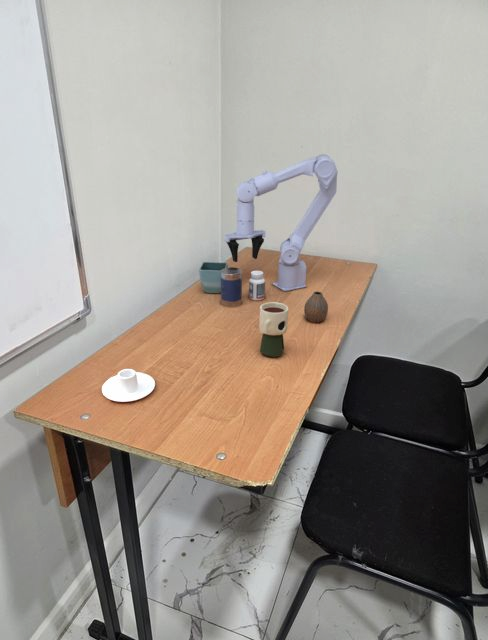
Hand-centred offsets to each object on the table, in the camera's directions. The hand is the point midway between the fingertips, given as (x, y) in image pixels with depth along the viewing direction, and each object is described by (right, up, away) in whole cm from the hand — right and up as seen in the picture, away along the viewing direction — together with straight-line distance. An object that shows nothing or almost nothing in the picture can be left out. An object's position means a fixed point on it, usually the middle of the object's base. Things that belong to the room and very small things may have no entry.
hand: (244, 259), depth 155 cm
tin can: (-5, -16, -9) cm, 19 cm away
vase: (+20, -23, -20) cm, 37 cm away
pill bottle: (+4, -14, -5) cm, 16 cm away
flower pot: (-11, -11, 0) cm, 15 cm away
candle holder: (-28, -41, -52) cm, 72 cm away
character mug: (+6, -32, -38) cm, 50 cm away
